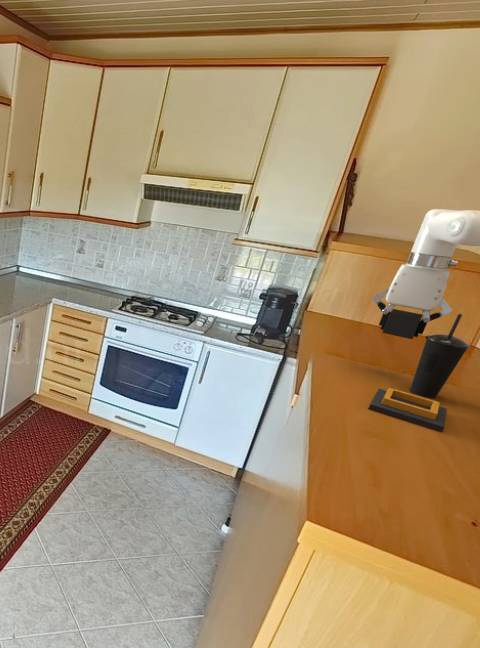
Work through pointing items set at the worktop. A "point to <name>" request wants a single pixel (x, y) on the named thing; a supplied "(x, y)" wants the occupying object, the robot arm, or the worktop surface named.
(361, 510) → the worktop surface
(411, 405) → the base pad
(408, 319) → the black pad
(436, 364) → the drinking cup
